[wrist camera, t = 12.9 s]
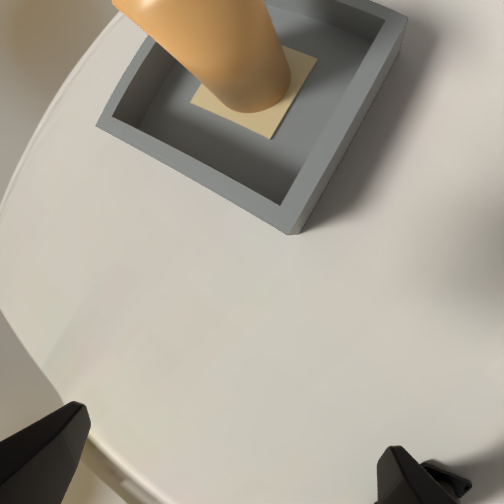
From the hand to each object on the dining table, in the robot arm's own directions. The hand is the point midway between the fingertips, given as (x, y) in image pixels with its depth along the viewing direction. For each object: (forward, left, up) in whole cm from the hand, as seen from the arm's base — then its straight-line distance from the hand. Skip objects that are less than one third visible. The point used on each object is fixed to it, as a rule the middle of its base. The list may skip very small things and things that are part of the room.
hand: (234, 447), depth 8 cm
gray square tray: (+10, -12, -12) cm, 20 cm away
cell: (+10, -12, -11) cm, 19 cm away
